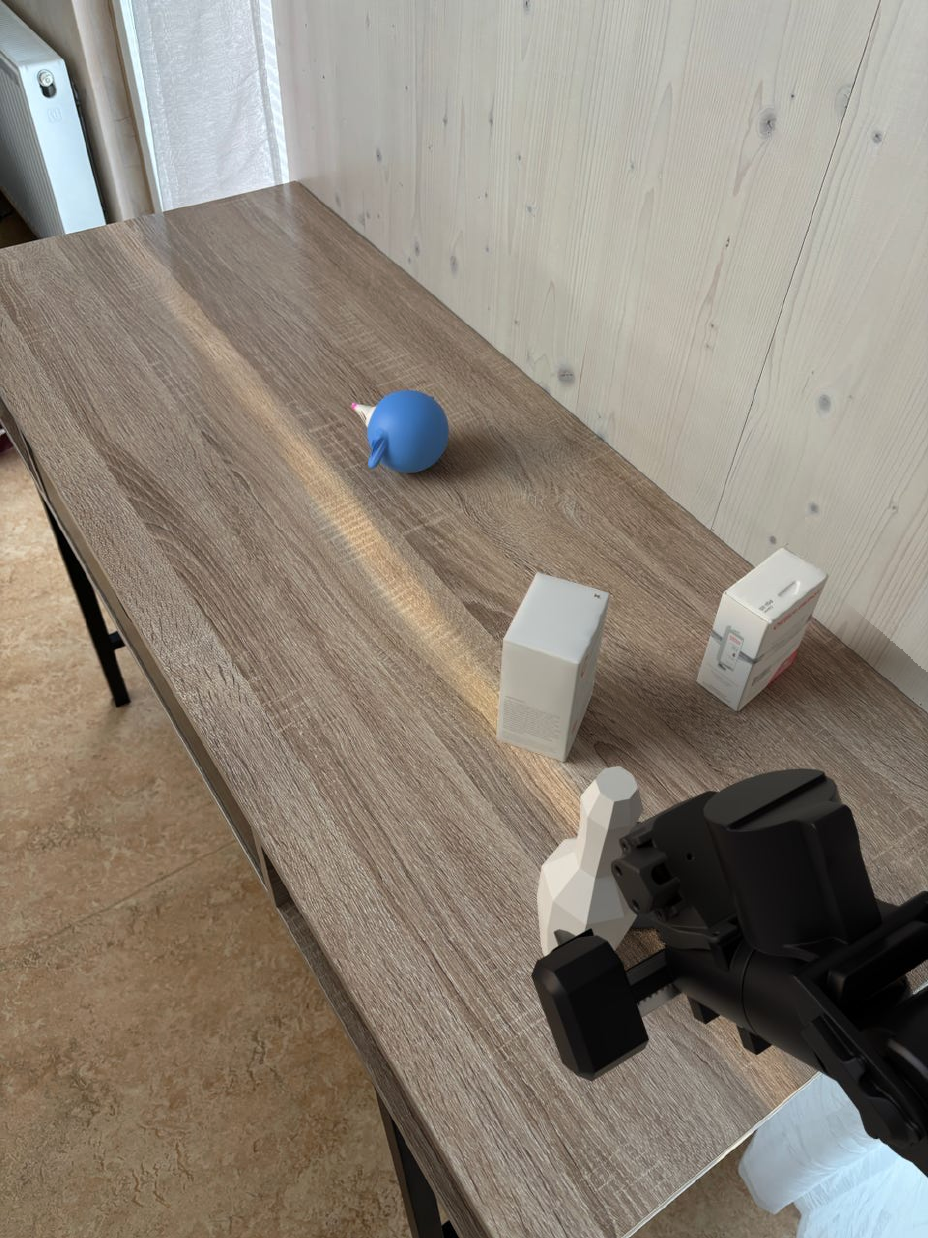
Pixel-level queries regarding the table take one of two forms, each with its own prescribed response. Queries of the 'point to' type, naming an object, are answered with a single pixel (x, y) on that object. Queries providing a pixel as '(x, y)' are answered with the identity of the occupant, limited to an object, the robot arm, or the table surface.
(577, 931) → the faceted bottle
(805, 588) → the ink box
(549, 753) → the small box
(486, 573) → the table surface
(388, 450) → the blue mole toy
